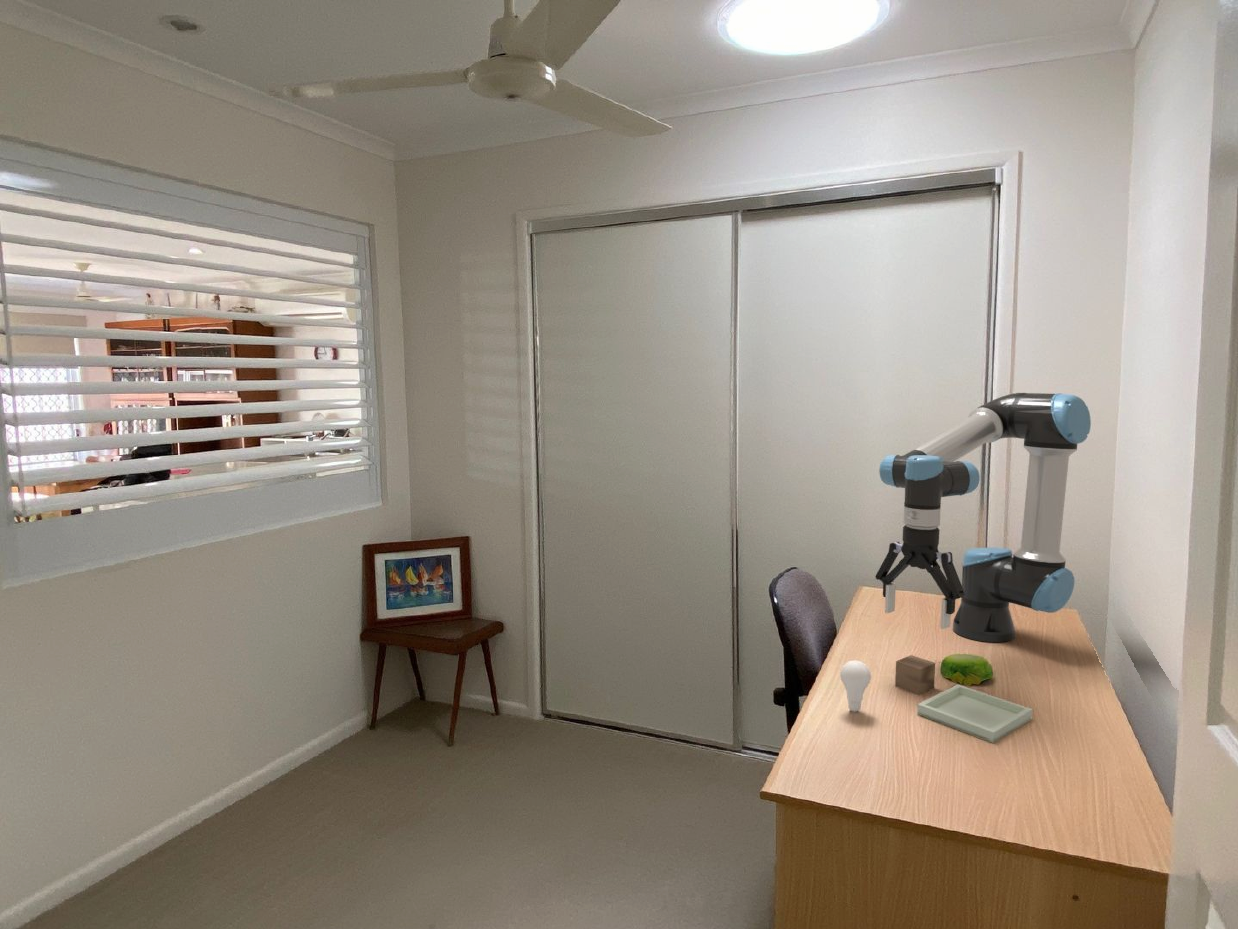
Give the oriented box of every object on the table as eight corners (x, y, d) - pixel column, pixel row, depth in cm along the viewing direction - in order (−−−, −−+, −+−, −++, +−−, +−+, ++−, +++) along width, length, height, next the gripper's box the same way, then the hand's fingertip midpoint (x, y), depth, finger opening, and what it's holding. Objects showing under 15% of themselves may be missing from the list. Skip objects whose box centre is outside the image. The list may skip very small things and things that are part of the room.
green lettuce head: (997, 688, 175) (999, 667, 175) (946, 685, 177) (947, 664, 177) (983, 669, 187) (984, 649, 186) (935, 666, 189) (936, 646, 188)
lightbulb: (869, 707, 166) (871, 657, 165) (869, 719, 160) (870, 668, 159) (840, 703, 168) (841, 654, 167) (838, 715, 162) (839, 665, 161)
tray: (957, 693, 172) (958, 684, 172) (1032, 719, 160) (1032, 709, 159) (917, 714, 162) (917, 704, 162) (993, 743, 150) (993, 732, 150)
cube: (910, 679, 180) (911, 655, 179) (934, 688, 176) (935, 662, 175) (895, 686, 177) (896, 661, 176) (919, 695, 172) (920, 669, 171)
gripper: (862, 519, 179) (858, 609, 181) (967, 538, 159) (961, 638, 162) (881, 515, 183) (877, 602, 186) (985, 533, 164) (979, 630, 166)
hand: (916, 619), depth 174 cm, fingers open, 13 cm apart
